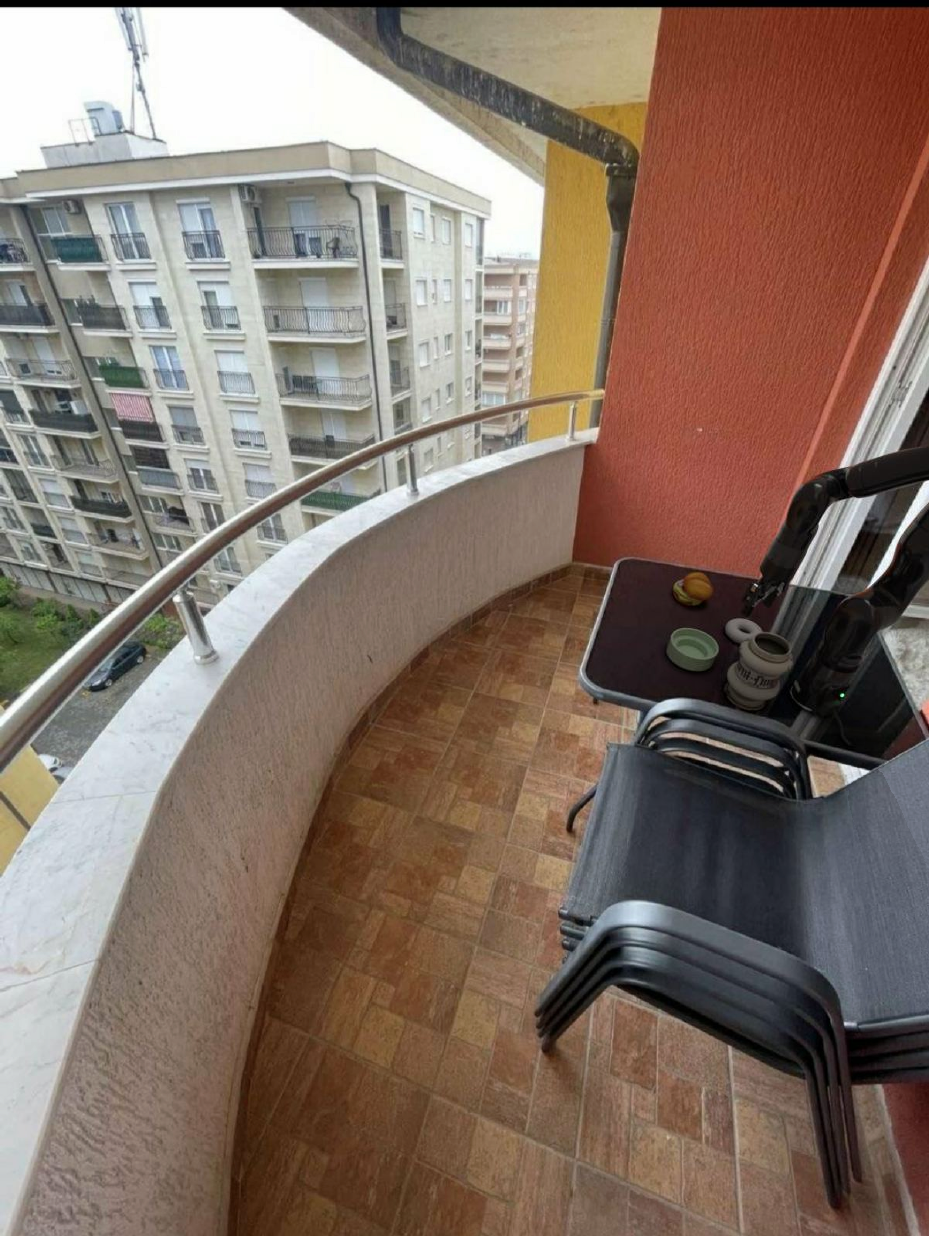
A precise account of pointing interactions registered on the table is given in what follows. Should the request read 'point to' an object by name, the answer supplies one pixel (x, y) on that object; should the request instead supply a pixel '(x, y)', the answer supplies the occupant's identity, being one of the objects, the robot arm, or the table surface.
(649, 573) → the table surface
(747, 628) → the donut
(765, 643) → the apothecary jar
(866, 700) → the table surface
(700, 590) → the cheeseburger
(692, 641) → the bowl
